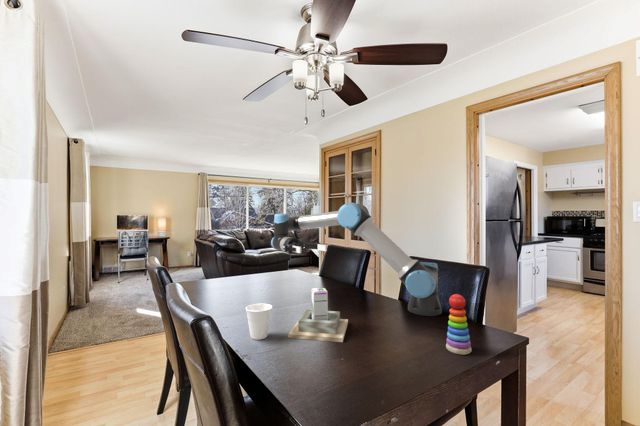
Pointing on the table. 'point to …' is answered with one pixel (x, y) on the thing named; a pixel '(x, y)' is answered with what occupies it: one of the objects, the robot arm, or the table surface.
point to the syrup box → (319, 304)
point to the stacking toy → (458, 327)
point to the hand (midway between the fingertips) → (313, 249)
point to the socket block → (320, 328)
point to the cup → (259, 320)
